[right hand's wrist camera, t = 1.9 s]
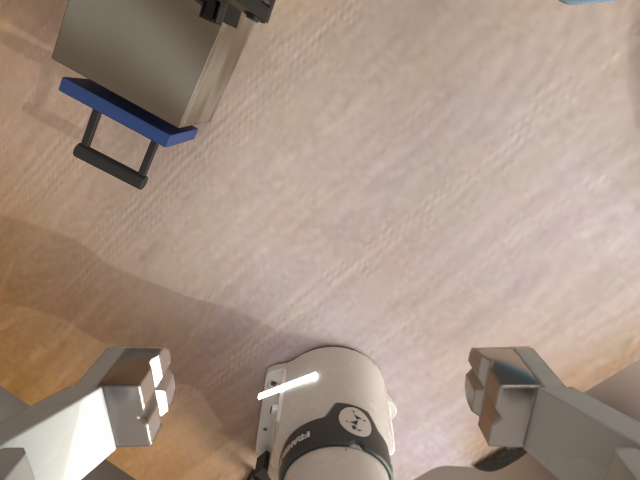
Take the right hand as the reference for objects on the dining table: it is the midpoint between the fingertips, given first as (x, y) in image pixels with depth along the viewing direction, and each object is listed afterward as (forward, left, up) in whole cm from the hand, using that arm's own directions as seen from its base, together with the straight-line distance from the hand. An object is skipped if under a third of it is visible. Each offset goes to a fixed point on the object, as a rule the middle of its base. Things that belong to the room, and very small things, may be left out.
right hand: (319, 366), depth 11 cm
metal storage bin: (+10, +16, -34) cm, 39 cm away
